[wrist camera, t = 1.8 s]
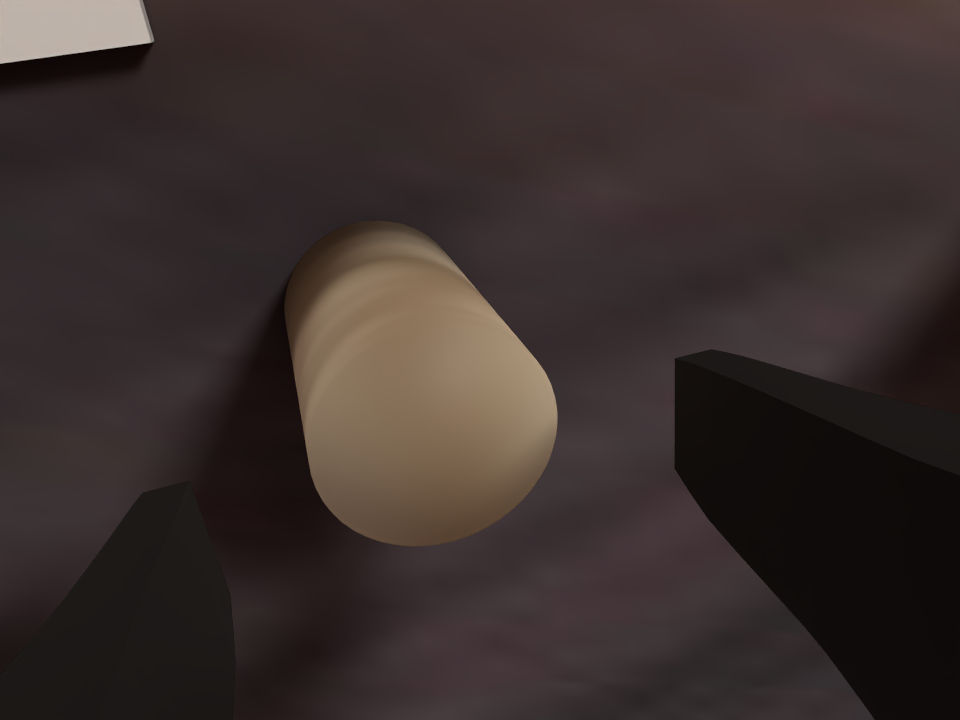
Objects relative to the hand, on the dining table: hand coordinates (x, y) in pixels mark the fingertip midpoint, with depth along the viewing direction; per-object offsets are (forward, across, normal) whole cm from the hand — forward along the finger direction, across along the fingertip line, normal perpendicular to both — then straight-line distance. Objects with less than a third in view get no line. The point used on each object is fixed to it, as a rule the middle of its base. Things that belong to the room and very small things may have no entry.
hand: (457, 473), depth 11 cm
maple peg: (+7, 0, 0) cm, 7 cm away
